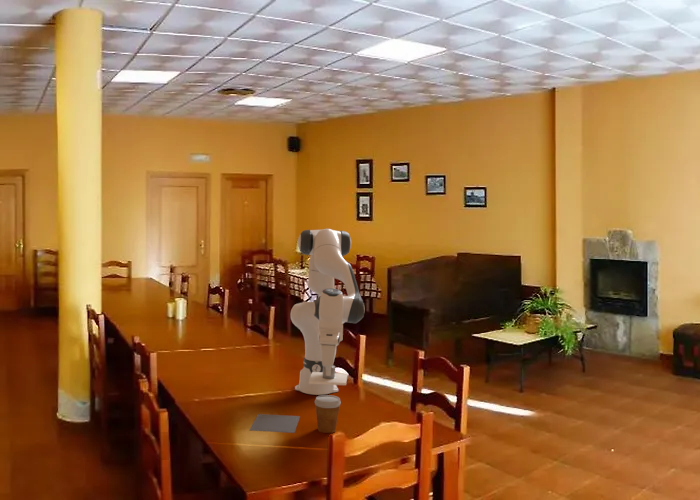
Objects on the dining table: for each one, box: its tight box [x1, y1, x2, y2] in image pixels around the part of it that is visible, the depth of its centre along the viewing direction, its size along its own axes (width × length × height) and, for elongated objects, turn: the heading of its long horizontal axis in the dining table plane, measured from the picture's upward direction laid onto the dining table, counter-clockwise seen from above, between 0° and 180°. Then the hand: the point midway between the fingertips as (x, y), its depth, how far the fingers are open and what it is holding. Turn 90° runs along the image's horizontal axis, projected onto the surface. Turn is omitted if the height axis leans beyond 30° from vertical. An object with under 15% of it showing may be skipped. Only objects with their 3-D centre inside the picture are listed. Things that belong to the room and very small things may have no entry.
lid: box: [309, 364, 349, 386], centre depth 238 cm, size 13×13×5 cm
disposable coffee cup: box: [314, 394, 342, 434], centre depth 239 cm, size 10×10×12 cm
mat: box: [249, 413, 301, 434], centre depth 244 cm, size 18×16×1 cm
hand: (328, 373), depth 238 cm, fingers closed on lid, 4 cm apart
